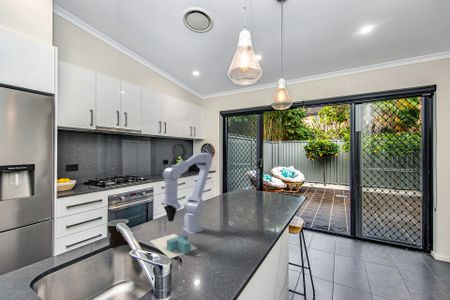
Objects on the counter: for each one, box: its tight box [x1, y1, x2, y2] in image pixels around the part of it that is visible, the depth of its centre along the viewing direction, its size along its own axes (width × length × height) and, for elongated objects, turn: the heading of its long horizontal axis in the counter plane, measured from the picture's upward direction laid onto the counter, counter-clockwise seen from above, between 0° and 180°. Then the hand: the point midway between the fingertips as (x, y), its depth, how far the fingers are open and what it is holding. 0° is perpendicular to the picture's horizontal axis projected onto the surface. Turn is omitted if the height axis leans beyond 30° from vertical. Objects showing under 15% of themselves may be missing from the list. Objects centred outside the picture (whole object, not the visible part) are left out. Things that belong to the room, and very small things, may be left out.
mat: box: [149, 233, 198, 259], centre depth 89 cm, size 22×13×1 cm, turn 43°
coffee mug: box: [107, 218, 129, 248], centre depth 88 cm, size 12×9×10 cm
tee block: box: [167, 234, 192, 255], centre depth 84 cm, size 9×9×4 cm
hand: (170, 220), depth 93 cm, fingers closed
